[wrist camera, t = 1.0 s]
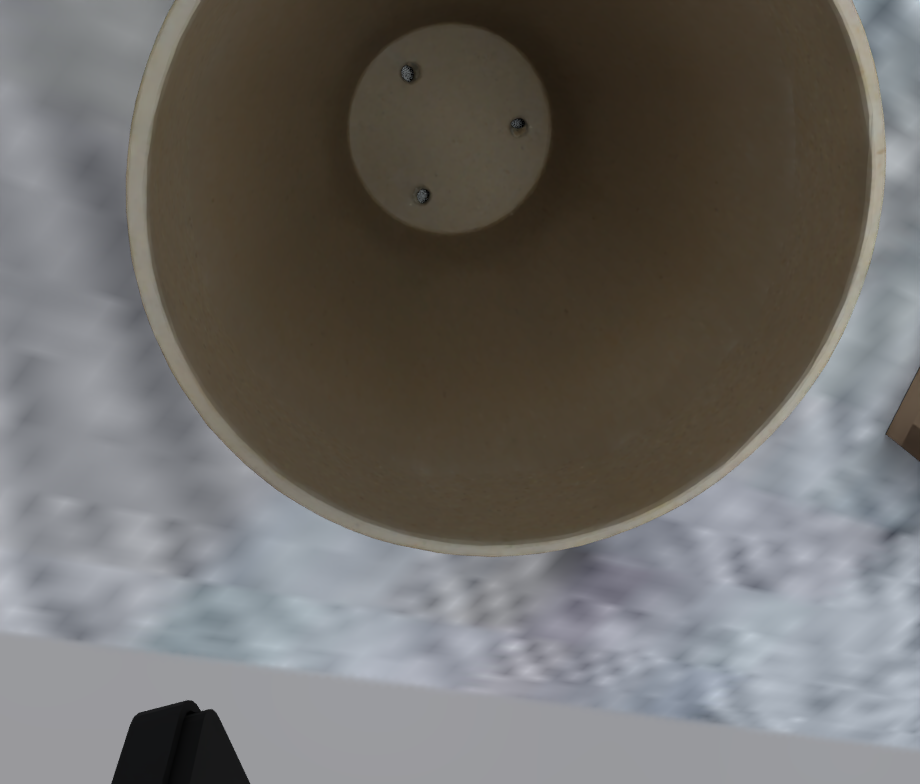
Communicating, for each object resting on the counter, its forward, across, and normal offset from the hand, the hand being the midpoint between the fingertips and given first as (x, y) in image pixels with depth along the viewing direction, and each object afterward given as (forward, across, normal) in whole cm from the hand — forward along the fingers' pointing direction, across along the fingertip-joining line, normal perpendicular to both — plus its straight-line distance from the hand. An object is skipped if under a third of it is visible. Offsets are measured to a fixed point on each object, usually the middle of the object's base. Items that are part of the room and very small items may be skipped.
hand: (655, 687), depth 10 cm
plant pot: (+26, -1, -2) cm, 26 cm away
